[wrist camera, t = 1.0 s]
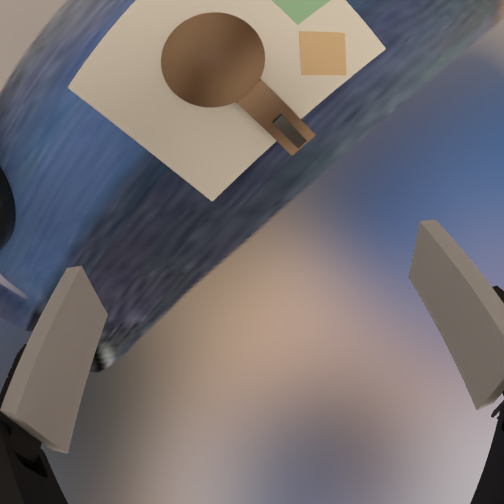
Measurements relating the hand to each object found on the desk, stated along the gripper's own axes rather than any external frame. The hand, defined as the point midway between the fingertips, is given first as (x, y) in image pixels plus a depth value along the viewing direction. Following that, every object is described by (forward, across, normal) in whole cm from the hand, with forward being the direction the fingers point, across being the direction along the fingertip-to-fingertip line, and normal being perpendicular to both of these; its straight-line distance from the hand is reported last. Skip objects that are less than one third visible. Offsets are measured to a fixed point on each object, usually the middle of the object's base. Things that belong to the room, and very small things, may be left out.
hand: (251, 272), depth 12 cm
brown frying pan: (+18, +1, +5) cm, 19 cm away
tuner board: (+20, 0, +8) cm, 21 cm away
